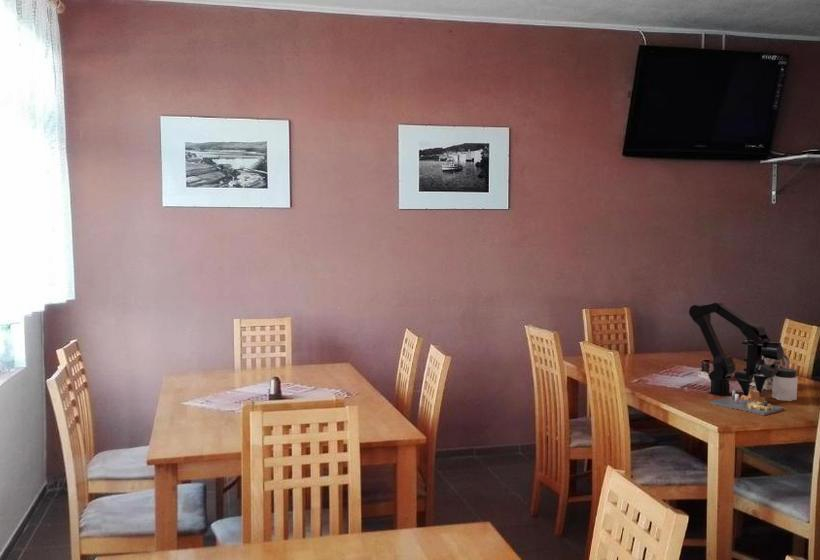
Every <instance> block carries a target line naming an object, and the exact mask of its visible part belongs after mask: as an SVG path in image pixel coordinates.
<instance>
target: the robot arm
mask: <svg viewBox="0 0 820 560" xmlns="http://www.w3.org/2000/svg"><path fill="white" fill-rule="evenodd" d="M713 313H715V314H717V315H719V317H721V318H723V319H724V320H726V321H727V322H729V323H731V325H733V326H735V327H736V328H738V330H739V331H740V332H741V334H742V335H743V336H744V337H745V339H744V340H743V341H742V342H741V344H742V345H746V357H745V358H744V359H743V362H745V364H746V365H745V367H744V368H743V370H737V371H736V366H737V365H736V364H735V362H734V360H733V357H732V356H727V355H726V354H725V352H724V349H723V348H722V345H721V343H720V341H719V339H718V336H717V334H716V331H715V329H714V327H713V325H712V320H711V319H712V318H711V317H712V316H711V314H713ZM688 314H689V316H690V318H691V320H692V321H693V322H694V323H695V324H696V325H697V326H698V327H699V328H700V329H699V330H700V331H701V333H702V335H703V338H704V340H705V343H706V345H707V347H708V349H709V352H710V354H711V356H712V366H713V370H712V371H711V372H710V373H709V374H708V378H709V380H710V391H708V394H712V395H716V396H721V397H722V396H728V395H732V392H730V389H731V388H730V387H731V386H730V385H731V384H730V380H731V378H732V376H733V379H735V380H736V381H737V383H738V384H739V386H740V388H741V390H742V392H743V395H745V396H748V394H749V390H750V387H751V386H750V383H752V382H753V380H752V379H753V376H754V380H755V385H756V387H755V388H756V390H757V391H759V394H761V393H762V390H763V389H762V388H763V385H764V383H765V381H766V380H767V379H768V378H771V377H774V376H775V373H778V371H777V370H778V369H777V365H776V364H771V365H770V366H769V365H767V364H765V360H764V359H762V356H764V358H769V359H776V360H781V359H782V357H783V353H784V352H785V351H784V348H783V346H782V342H778V341H777V342H775V341H771V339H770V337H769V336H768V334H767V333H766V328H765V327H764V326H762V325H761V324H759V323H756V322H754V321H751V320H748V319H746V318H744V317H742V316H741V315H740V314H739V313H737V312H735V311H734V310H733V309H731V308H729V307H728V306H726V305H725V304H724V303H722V302H720V301H718V302H712V303H709V304H704V303H700V304H693V305H691V306H690V307H689V309H688ZM784 354H785V353H784Z"/></svg>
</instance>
